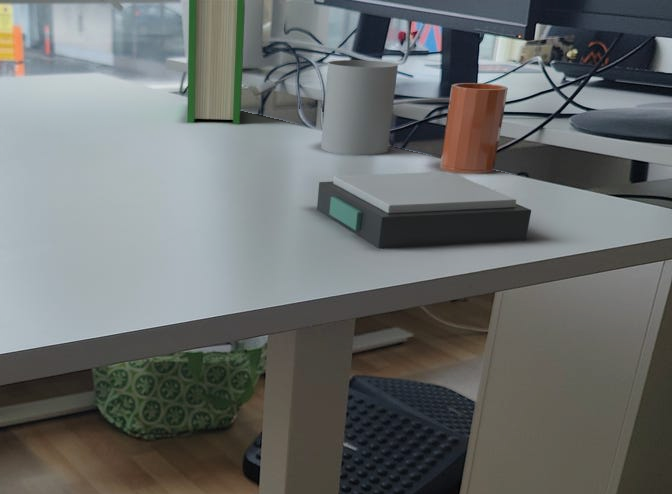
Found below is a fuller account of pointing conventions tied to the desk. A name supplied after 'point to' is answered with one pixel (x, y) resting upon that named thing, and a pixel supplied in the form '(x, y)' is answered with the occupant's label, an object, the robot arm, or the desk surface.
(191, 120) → the hardback book
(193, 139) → the desk surface
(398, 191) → the scale
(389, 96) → the cup
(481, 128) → the tumbler
